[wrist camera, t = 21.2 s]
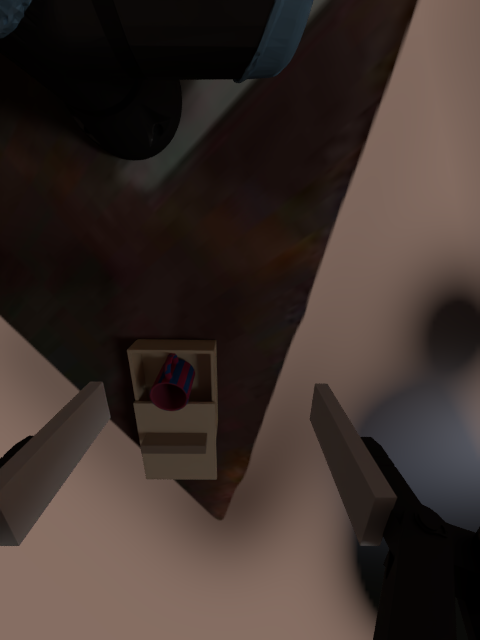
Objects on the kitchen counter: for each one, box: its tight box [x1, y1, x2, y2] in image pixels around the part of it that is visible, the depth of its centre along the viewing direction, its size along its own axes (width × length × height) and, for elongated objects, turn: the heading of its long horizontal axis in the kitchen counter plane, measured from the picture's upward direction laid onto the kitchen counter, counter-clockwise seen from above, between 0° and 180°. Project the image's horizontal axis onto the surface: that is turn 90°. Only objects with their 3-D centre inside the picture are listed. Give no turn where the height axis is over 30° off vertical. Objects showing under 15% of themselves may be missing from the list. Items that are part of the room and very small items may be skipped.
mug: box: [149, 353, 195, 411], centre depth 42 cm, size 7×10×7 cm
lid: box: [133, 401, 217, 479], centre depth 45 cm, size 20×15×4 cm
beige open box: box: [127, 339, 218, 434], centre depth 45 cm, size 20×15×4 cm
